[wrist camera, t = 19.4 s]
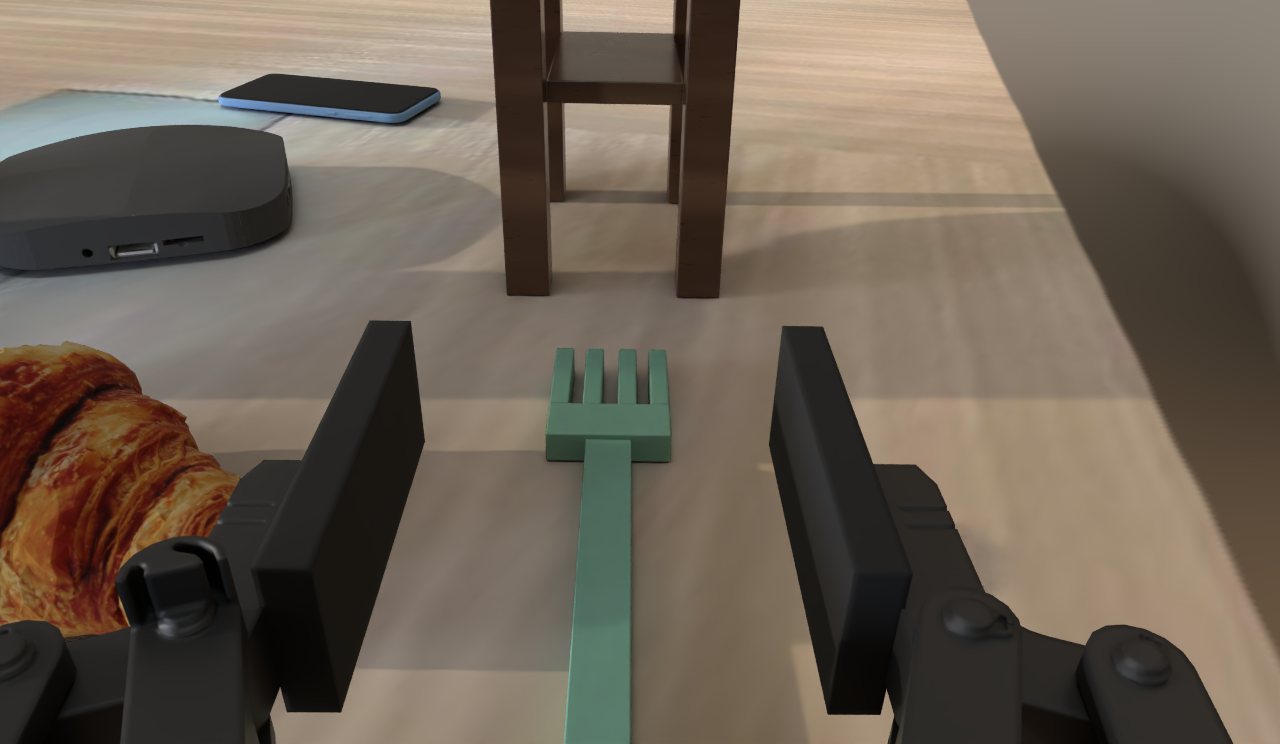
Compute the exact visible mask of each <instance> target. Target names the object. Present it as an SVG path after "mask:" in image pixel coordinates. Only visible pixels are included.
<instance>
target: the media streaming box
mask: <svg viewBox="0 0 1280 744" xmlns="http://www.w3.org/2000/svg"><path fill="white" fill-rule="evenodd" d="M291 215H292V189H291V181H290V176H289V170H288V164H287V159H286V153H285V147H284V142H283V138H282V137H281V136H278V135H275V134H272V133H268V132H263V131H258V130H252V129H245V128H238V127H228V126H211V125H168V126H150V127H139V128H130V129H121V130H114V131H107V132H101V133H96V134H90V135H85V136H80V137H76V138H72V139H68V140H64V141H60V142H56V143H53V144H49V145H45V146H42V147H38V148H35V149H32V150H29V151H25V152H22V153H19V154H16V155H13V156H11V157H8V158H6V159H5V160H3V161H2V162H0V266H1V267H6V268H11V269H21V270H42V269H54V268H66V267H77V266H89V265H99V264H110V263H120V262H130V261H140V260H149V259H158V258H167V257H176V256H185V255H193V254H202V253H210V252H218V251H226V250H233V249H238V248H242V247H246V246H250V245H253V244H256V243H259V242H262V241H265V240H267V239H269V238H271V237H273V236H275V235H277V234H279V233H280V232H282V231H283V230H284V229H285V228H287V227H288V225H289V224H290V222H291Z"/></svg>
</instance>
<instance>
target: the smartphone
mask: <svg viewBox="0 0 1280 744" xmlns="http://www.w3.org/2000/svg"><path fill="white" fill-rule="evenodd" d="M440 98H441V95H440V91H439V90H437V89H435V88H430V87H419V86H408V85H397V84H386V83H375V82H364V81H353V80H342V79H331V78H320V77H309V76H298V75H287V74H268V75H265V76H262V77H260V78H258V79H255V80H253V81H250V82H248V83H246V84H243V85H241V86H238V87H236V88H233V89H231V90H229V91H226V92H224V93H222V94H221V95H219V98H218V99H219V103H220V104H221V105H223V106H228V107H237V108H247V109H257V110H267V111H277V112H287V113H296V114H306V115H316V116H326V117H336V118H346V119H356V120H366V121H376V122H386V123H398V122H403V121H406V120H408V119H409V118H411V117H413V116H414V115H416V114H418V113H419V112H421V111H423V110H424V109H426V108H427V107H429V106H431V105H432V104H434V103H436V102H437V101H439V100H440Z"/></svg>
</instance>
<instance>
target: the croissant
mask: <svg viewBox="0 0 1280 744" xmlns="http://www.w3.org/2000/svg"><path fill="white" fill-rule="evenodd" d="M186 418H187V417H185V416H184V415H183V414H181V413H180V412H178V411H177V410H175V409H174V408H172V407H170V406H168V405H166V404H164V403H162V402H160V401H158V400H154V399H151V398H150V397H149V396H146V395H143V394H142V389H141V387H140V384H139V382H138V379H137V377H136V375H135V373H134V372H133V371H131V370H130V369H129V368H128V367H127V366H126V365H125V364H124V363H122V362H120V361H119V360H118V359H116V358H115V357H113V356H112V355H110V354H108V353H105V352H102V351H99V350H96V349H93V348H90V347H88V346H85V345H80V344H76V343H73V342H68V341H66V342H63V344H62V345H61V346H49V345H38V346H35V347H34V346H28V345H24V346H20V347H17V348H4V349H2V350H0V626H1V625H4V624H8V623H13V622H18V621H24V620H36V621H46V622H48V623H50V624H52V625H54V626H56V627H58V628H59V629H60V631H61V634H62V636H63V638H66V637H73V636H80V635H88V634H97V635H101V634H106V633H110V632H114V631H117V630H120V629H123V628H127V627H130V625H129V622H128V619H127V617H126V614H125V611H124V608H123V605H122V603H121V600H120V597H119V594H118V592H117V589H116V586H115V583H114V581H115V579H116V577H117V574H118V572H119V569H120V568H121V567H122V566H123V565H124V564H125V563H126V562H127V561H128V560H129V559H130V558H131V557H132V556H133V555H134V554H135V553H137V552H139V551H141V550H142V549H144V548H146V547H148V546H149V545H151V544H153V543H156V542H159V541H162V540H166V539H169V538H172V537H179V536H190V535H196V536H201V537H208V536H209V534H210V532H211V530H212V529H213V527H214V525H217V520H218V518H219V516H220V514H221V512H222V511H223V509H224V507H225V506H227V502H228V500H229V498H230V496H231V495H232V493H233V491H234V489H235V487H236V486H237V484H238V482H239V480H240V478H239V475H238V474H237V475H235V474H232V473H230V472H227V471H224V470H222V469H221V468H220V464H219V463H218V462H217V461H216V459H215V458H214V457H213V456H211V455H208V454H205V453H202V452H200V451H199V449H198V447H197V445H196V443H195V440H194V438H193V436H192V435H191V433H190V431H189V427H188V425H187V424H186V423H185V420H186Z"/></svg>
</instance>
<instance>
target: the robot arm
mask: <svg viewBox="0 0 1280 744" xmlns="http://www.w3.org/2000/svg"><path fill="white" fill-rule="evenodd" d="M424 443H425V438H424V429H423V421H422V412H421V404H420V395H419V387H418V378H417V370H416V361H415V353H414V344H413V336H412V327H411V321H369V323H368V325H367V327H366V329H365V331H364V333H363V335H362V337H361V339H360V341H359V344H358V346H357V348H356V350H355V352H354V354H353V356H352V358H351V360H350V362H349V364H348V366H347V368H346V370H345V372H344V375H343V377H342V379H341V381H340V383H339V385H338V387H337V389H336V391H335V393H334V395H333V397H332V399H331V401H330V403H329V406H328V408H327V410H326V412H325V414H324V416H323V418H322V420H321V422H320V424H319V426H318V428H317V430H316V432H315V434H314V437H313V439H312V441H311V443H310V445H309V447H308V449H307V451H306V453H305V455H304V457H303V459H302V460H263V461H262V462H261V463H260V464H258V465H257V466H256V467H255V468H254V469H252V470H251V471H250V472H249V473H247V474H246V475H245V476H244V477H243V478H241V479H240V480H239V482H238V484H237V486H236V487H235V489H234V491H233V493H232V495H231V496H230V498H229V500H228V502H227V506H225V507H224V509H223V511H222V512H221V514H220V516H219V518H218V520H217V525H214V527H213V529H212V530H211V532H210V534H209V536H208V537H201V536H196V535H190V536H179V537H172V538H169V539H166V540H162V541H159V542H156V543H153V544H151V545H149V546H148V547H146V548H144V549H142V550H141V551H139V552H137V553H135V554H134V555H133V556H132V557H131V558H130V559H129V560H128V561H127V562H126V563H125V564H124V565H123V566H122V567H121V568H120V569H119V572H118V574H117V577H116V579H115V581H114V583H115V586H116V589H117V592H118V594H119V597H120V600H121V603H122V605H123V608H124V611H125V614H126V617H127V619H128V622H129V625H130V627H127V628H123V629H120V630H117V631H114V632H110V633H106V634H101V635H97V636H92V637H88V638H84V639H79V640H75V641H70V642H65V640H64V638H63V636H62V634H61V631H60V629H59V628H58V627H56V626H54V625H52V624H50V623H48V622H46V621H36V620H24V621H18V622H13V623H8V624H4V625H1V626H0V744H276V741H275V732H274V728H273V724H272V721H271V717H270V712H271V709H272V707H273V704H274V701H275V699H276V696H277V694H278V691H279V688H280V687H281V691H282V695H283V699H284V703H285V707H286V710H287V712H341V711H342V708H343V704H344V701H345V698H346V695H347V691H348V688H349V685H350V682H351V679H352V675H353V672H354V669H355V666H356V662H357V659H358V656H359V653H360V649H361V646H362V643H363V640H364V637H365V633H366V630H367V627H368V624H369V620H370V617H371V614H372V611H373V607H374V604H375V601H376V598H377V594H378V591H379V588H380V585H381V582H382V578H383V575H384V572H385V569H386V565H387V562H388V559H389V556H390V552H391V549H392V546H393V543H394V540H395V536H396V533H397V530H398V527H399V523H400V520H401V517H402V514H403V510H404V507H405V504H406V501H407V497H408V494H409V491H410V488H411V485H412V481H413V478H414V475H415V472H416V468H417V465H418V462H419V459H420V455H421V452H422V449H423V446H424ZM769 447H770V452H771V457H772V461H773V466H774V470H775V475H776V479H777V484H778V489H779V493H780V498H781V502H782V507H783V512H784V516H785V521H786V525H787V530H788V535H789V539H790V544H791V548H792V553H793V557H794V562H795V567H796V571H797V576H798V580H799V585H800V590H801V594H802V599H803V603H804V608H805V612H806V617H807V622H808V626H809V631H810V635H811V640H812V645H813V649H814V654H815V658H816V663H817V668H818V672H819V677H820V681H821V686H822V690H823V695H824V700H825V704H826V709H827V713H828V715H881V710H882V706H883V702H884V697H885V693H886V689H887V692H888V695H889V699H890V702H891V705H892V709H893V712H894V719H893V723H892V728H891V732H890V736H889V740H888V744H1233V742H1232V740H1231V738H1230V736H1229V734H1228V732H1227V730H1226V728H1225V726H1224V724H1223V722H1222V720H1221V718H1220V716H1219V714H1218V712H1217V710H1216V708H1215V707H1214V705H1213V703H1212V701H1211V699H1210V697H1209V695H1208V693H1207V691H1206V689H1205V687H1204V685H1203V683H1202V681H1201V679H1200V677H1199V675H1198V673H1197V671H1196V669H1195V667H1194V666H1193V665H1192V663H1191V662H1190V661H1189V659H1188V658H1187V657H1186V655H1185V654H1184V653H1183V652H1182V651H1181V650H1180V649H1178V648H1177V647H1176V646H1174V645H1173V644H1172V643H1171V642H1169V641H1168V640H1167V639H1165V638H1163V637H1161V636H1159V635H1157V634H1154V633H1152V632H1150V631H1148V630H1146V629H1142V628H1137V627H1133V626H1128V625H1109V626H1104V627H1102V628H1100V629H1098V630H1096V631H1094V632H1092V634H1091V636H1090V638H1089V640H1088V641H1087V643H1086V646H1085V645H1081V644H1077V643H1073V642H1069V641H1065V640H1061V639H1057V638H1053V637H1049V636H1045V635H1042V634H1039V633H1036V632H1033V631H1030V630H1028V629H1026V628H1024V627H1022V626H1020V622H1019V619H1018V618H1017V617H1016V616H1015V614H1014V613H1013V612H1012V611H1011V609H1010V608H1009V607H1008V606H1007V605H1006V604H1004V603H1003V602H1001V601H1000V600H998V599H997V598H995V597H994V596H993V595H990V594H988V593H985V591H984V588H983V586H982V584H981V582H980V580H979V577H978V575H977V573H976V571H975V568H974V566H973V564H972V562H971V559H970V557H969V555H968V553H967V550H966V548H965V546H964V544H963V542H962V539H961V537H960V535H959V533H958V530H957V529H955V524H954V521H953V519H952V517H951V515H950V512H949V511H947V506H946V504H945V501H944V499H943V497H942V495H941V492H940V490H939V488H938V486H937V484H936V483H935V482H934V481H933V480H932V479H931V478H929V477H928V476H927V475H926V474H925V473H924V472H923V471H922V470H921V469H920V468H919V467H918V466H917V465H899V464H873V462H872V459H871V457H870V454H869V451H868V448H867V446H866V443H865V440H864V438H863V435H862V432H861V429H860V427H859V424H858V421H857V418H856V416H855V413H854V410H853V408H852V405H851V402H850V399H849V397H848V394H847V391H846V388H845V386H844V383H843V380H842V377H841V375H840V372H839V369H838V367H837V364H836V361H835V358H834V356H833V353H832V350H831V347H830V345H829V342H828V339H827V337H826V334H825V331H824V328H823V327H814V326H782V335H781V343H780V352H779V361H778V370H777V379H776V387H775V396H774V405H773V414H772V423H771V431H770V440H769Z"/></svg>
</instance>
